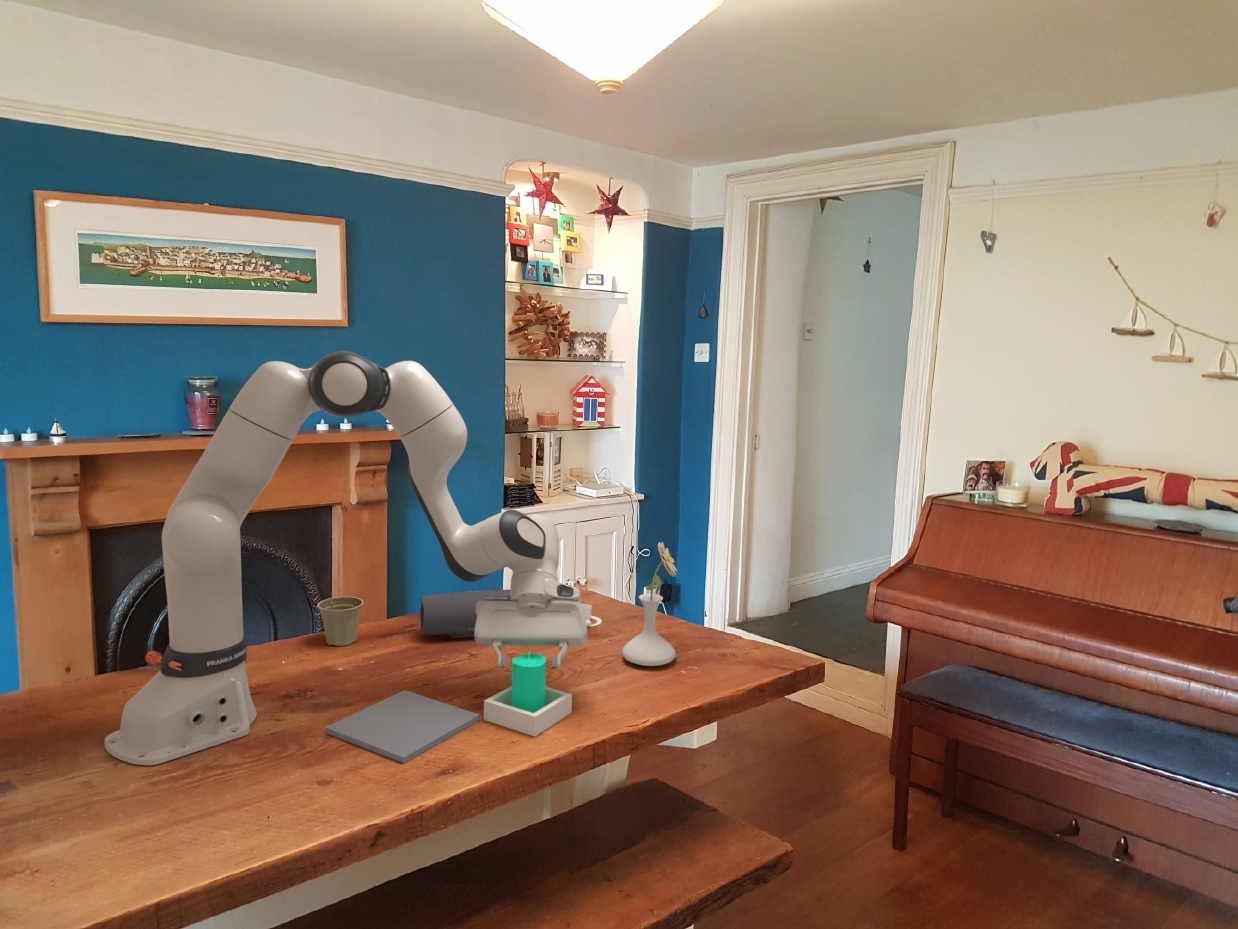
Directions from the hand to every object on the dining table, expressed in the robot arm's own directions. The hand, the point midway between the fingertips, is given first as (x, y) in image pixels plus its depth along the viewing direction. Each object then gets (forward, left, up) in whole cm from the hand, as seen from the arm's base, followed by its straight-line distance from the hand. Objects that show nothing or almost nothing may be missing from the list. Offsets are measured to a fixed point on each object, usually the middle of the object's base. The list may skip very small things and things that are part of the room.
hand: (529, 667), depth 143 cm
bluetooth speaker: (+26, +35, -9) cm, 44 cm away
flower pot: (+6, +55, -9) cm, 56 cm away
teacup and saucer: (+46, +21, -10) cm, 51 cm away
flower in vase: (+36, -5, -9) cm, 37 cm away
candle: (0, 0, -9) cm, 9 cm away
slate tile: (-15, +15, -9) cm, 23 cm away
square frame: (0, 0, -9) cm, 9 cm away
